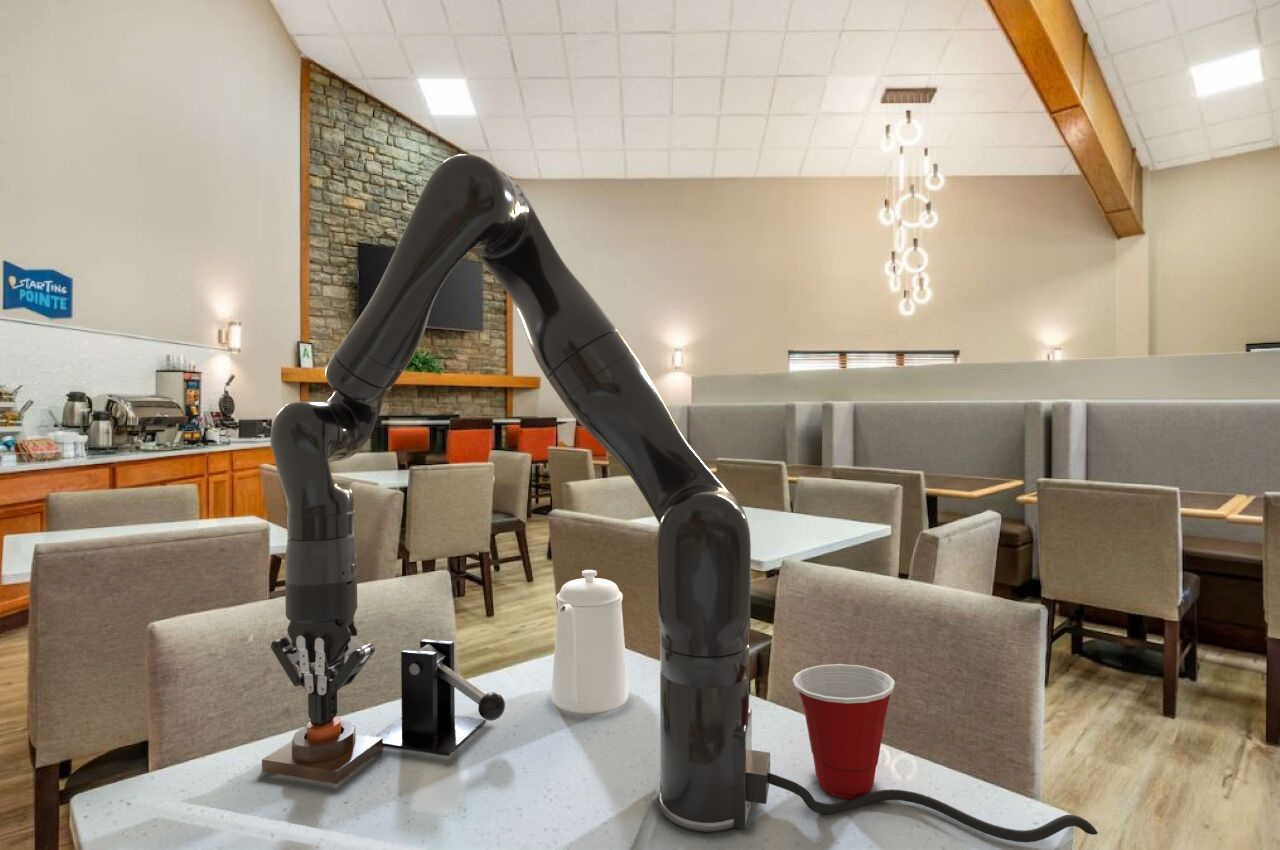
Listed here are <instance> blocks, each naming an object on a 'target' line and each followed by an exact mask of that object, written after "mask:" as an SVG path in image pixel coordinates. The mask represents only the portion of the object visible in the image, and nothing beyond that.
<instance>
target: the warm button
mask: <svg viewBox="0 0 1280 850" xmlns="http://www.w3.org/2000/svg"><path fill="white" fill-rule="evenodd" d="M341 721H342V719H341V718H340V717H339V716H337V715H336V716H335V717H334V719H333V720H332V721H331V722H329V723H328V724H326V725H324V726H319V725H312V724H311V720H310V721H309V722H308V723H307V724H306V726H307V741H311V742H321V741H327V740H330V739H333V738H336V737H337V736H339V735H340V734H341Z"/></svg>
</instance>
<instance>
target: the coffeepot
mask: <svg viewBox="0 0 1280 850" xmlns="http://www.w3.org/2000/svg"><path fill="white" fill-rule="evenodd" d="M597 575H598V571H597V570H594V569H584V570H582V571H581V576H582V578H576V579H573V580H569V581H567V582H565V583H564V584H563V585H562V586H561V588H560V590H559V592H557V594H556V596H555V597H556V600H555V601H556V603H557V608H556V622H555V623H556V625H555V637H554V638H555V639H554V650H553V651H554V652H553V666H552V679H551V680H552V682H551V701H552V704H553V705H554V706H556V707H557V708H559V709H561V710H563V711H566V712H571V713H575V714H597V713H604V712H608V711H612V710H615V709H617V708H619V707H621V706H623V705H624V704H625V703H626V702H627V701H628V699H629V683H628V681H629V680H628V669H627V658H626V645H625V644H626V643H625V632H624V631H625V630H624V619H623V618H624V617H623V605H622V601H623V600H624V599H623V595H624V594H623V592H622V591H620V589H619V586H618V585H617V584H616V583H615V582H613V581H612V580H609V579H605V578H600V577H596V576H597Z"/></svg>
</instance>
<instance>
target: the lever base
mask: <svg viewBox="0 0 1280 850" xmlns="http://www.w3.org/2000/svg"><path fill="white" fill-rule="evenodd" d="M428 644H429V645H431V646H432V647H434V648H435V649H436V650H438V651H439V652H441V653H442V654H443V655H445V658H444V660H443V662H442V663H443V664H444V665H445V666H447V667H448V668H450V669H451V670H452V671H454V672H455V641H450V640H442V639H441V640H440V639H430V638H423V639H422V640H420V641H419V649H421V648H422V647H424V646H426V645H428ZM419 649H408V648H405V649H404V650H402V651H401V652H400V658H401V659H400V674H401V675H400V677H401V678H400V680H401V681H400V683H401V685H400V686H401V687H400V688H401V689H400V690H401V717H400V718H399V719H397V720H396V721H394V722H393V723H392V724H391V725H389V726H387V727H386V728H385V729H383V730H382V731H380V732H379V733H378V734H376V735H375V736H374V737H380V738H383V747H388V748H393V749H401V750H406V751H413V752H421V753H427V754H433V755H438V756H439V755H441V756H445V757H449V756H450V755H451V754H452V753H454V751H456V750H457V749H458V748H459V747H460V746H461V745H462V744H463V743H464V742H466V740H468V739H469V738H470V737H471V736H472V735H473V734H474V733H475V732H476V731H477V730H478V729H480V728H481V727H482V726H483V725H484V724H485V723H486V721H487V720H485V719H484V718H475V717H470V716H462V715H456V710H455V706H456V704H455V701H456V700H455V698H456V697H455V687H454V686H452V685H451V684H450V683H448V682H447V681H445V680H444V679H443V678H441V677H440V676H438V675H437V652H428V651H418V650H419Z"/></svg>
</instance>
